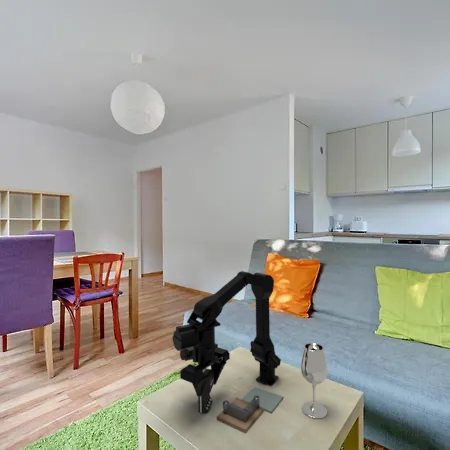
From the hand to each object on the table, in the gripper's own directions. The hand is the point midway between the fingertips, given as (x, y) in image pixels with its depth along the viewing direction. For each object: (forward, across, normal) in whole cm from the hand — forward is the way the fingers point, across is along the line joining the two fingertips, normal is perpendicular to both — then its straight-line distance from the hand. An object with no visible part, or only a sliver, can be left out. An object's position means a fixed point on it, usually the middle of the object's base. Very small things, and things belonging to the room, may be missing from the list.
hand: (206, 390), depth 93 cm
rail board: (+6, -2, +11) cm, 13 cm away
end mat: (+6, -13, +13) cm, 19 cm away
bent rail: (+4, -4, +11) cm, 12 cm away
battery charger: (+6, 0, 0) cm, 6 cm away
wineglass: (+6, -17, +29) cm, 34 cm away
